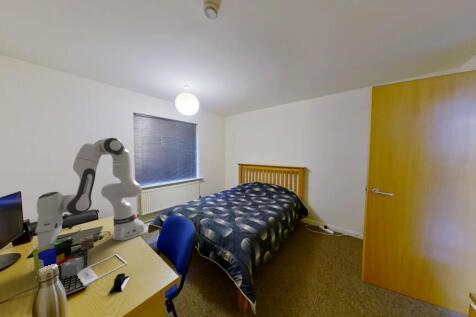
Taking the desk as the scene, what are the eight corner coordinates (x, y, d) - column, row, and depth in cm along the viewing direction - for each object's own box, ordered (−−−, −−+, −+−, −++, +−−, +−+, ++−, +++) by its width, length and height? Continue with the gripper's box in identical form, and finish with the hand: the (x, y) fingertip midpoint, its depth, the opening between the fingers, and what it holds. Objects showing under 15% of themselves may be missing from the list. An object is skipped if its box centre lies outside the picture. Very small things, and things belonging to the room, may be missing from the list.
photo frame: (75, 272, 84) (116, 253, 99) (75, 274, 84) (116, 255, 99) (84, 285, 76) (127, 262, 91) (84, 287, 76) (127, 264, 91)
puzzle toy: (48, 273, 84) (47, 254, 84) (34, 270, 86) (33, 252, 86) (72, 260, 94) (70, 243, 94) (58, 258, 96) (57, 241, 96)
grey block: (83, 267, 88) (83, 256, 88) (77, 275, 83) (76, 263, 82) (69, 270, 86) (68, 258, 86) (61, 278, 81) (61, 266, 80)
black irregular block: (117, 276, 82) (117, 268, 82) (134, 274, 84) (133, 265, 84) (103, 299, 70) (103, 288, 70) (123, 295, 72) (122, 285, 72)
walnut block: (93, 243, 111) (92, 234, 111) (93, 247, 107) (93, 237, 107) (80, 247, 107) (80, 237, 107) (81, 251, 103) (80, 241, 102)
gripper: (49, 217, 96) (50, 240, 96) (33, 231, 79) (35, 259, 80) (64, 215, 99) (66, 237, 100) (52, 228, 82) (54, 254, 83)
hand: (52, 247), depth 90 cm, fingers closed
